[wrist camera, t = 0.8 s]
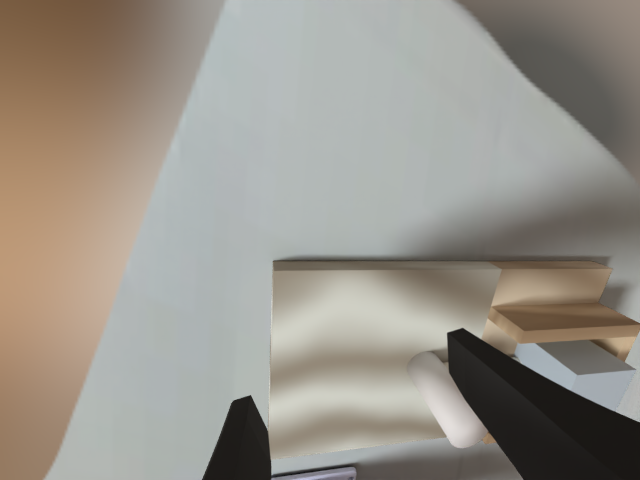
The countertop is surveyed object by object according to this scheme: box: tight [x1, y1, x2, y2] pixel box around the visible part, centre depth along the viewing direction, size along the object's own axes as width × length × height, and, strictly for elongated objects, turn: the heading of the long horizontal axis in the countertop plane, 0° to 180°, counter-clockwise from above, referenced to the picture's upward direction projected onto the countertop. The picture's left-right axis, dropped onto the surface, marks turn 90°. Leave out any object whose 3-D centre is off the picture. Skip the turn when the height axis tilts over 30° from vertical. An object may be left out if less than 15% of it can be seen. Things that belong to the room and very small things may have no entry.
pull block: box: [407, 340, 636, 448], centre depth 21 cm, size 5×14×6 cm, turn 85°
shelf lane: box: [268, 261, 640, 460], centre depth 22 cm, size 16×26×4 cm, turn 85°
